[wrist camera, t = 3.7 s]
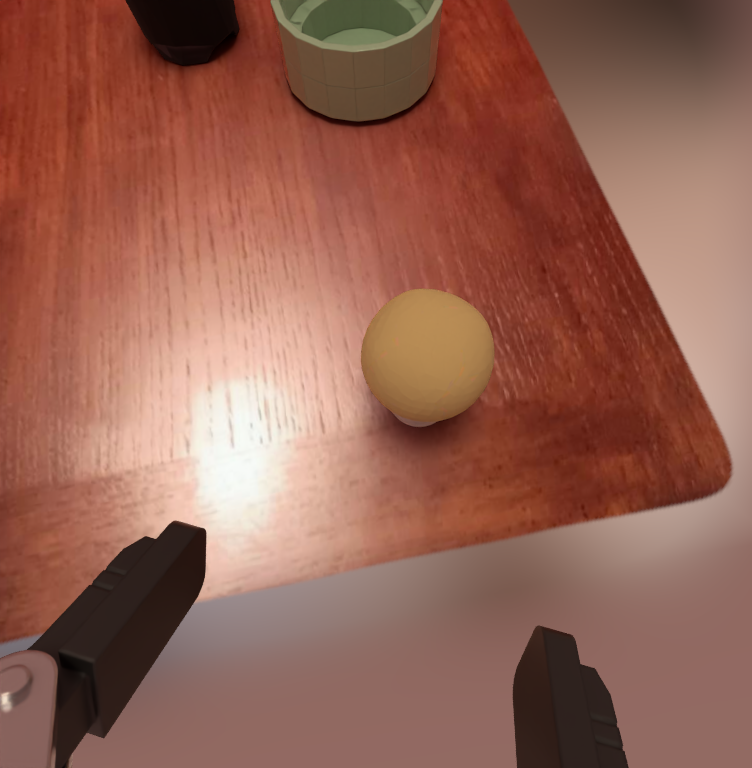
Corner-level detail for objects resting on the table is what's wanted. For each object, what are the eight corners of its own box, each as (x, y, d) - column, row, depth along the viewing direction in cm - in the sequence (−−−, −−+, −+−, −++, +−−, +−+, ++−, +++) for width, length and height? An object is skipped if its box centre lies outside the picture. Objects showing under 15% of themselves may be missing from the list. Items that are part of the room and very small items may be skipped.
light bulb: (348, 423, 30) (331, 358, 20) (393, 338, 32) (397, 244, 22) (444, 469, 29) (473, 423, 19) (485, 378, 31) (529, 296, 21)
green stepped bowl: (465, 64, 40) (478, -17, 35) (365, 151, 37) (362, 78, 32) (356, 1, 43) (352, -83, 38) (256, 77, 40) (234, -2, 35)
